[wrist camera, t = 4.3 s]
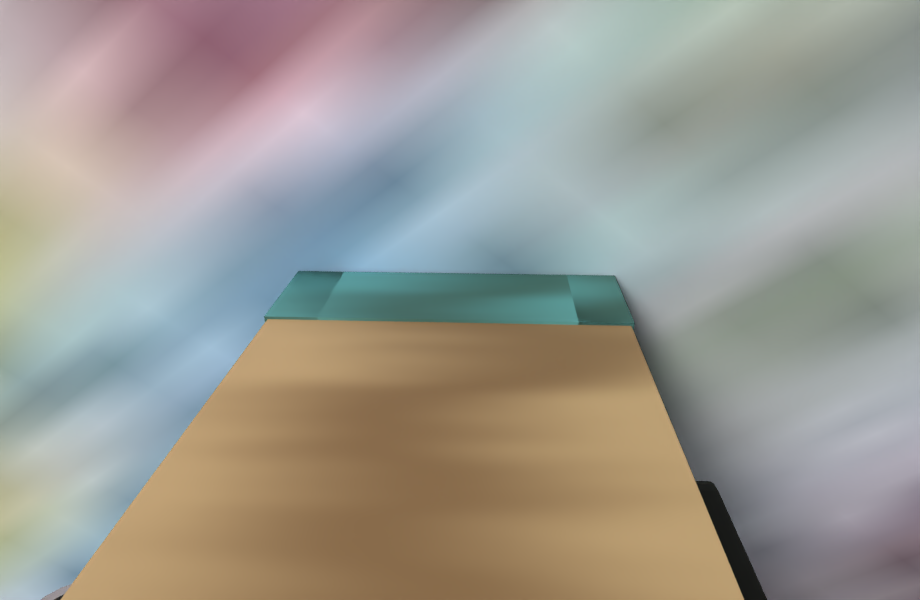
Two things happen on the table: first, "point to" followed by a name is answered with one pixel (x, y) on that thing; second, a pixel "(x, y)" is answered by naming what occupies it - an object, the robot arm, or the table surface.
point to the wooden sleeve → (425, 456)
